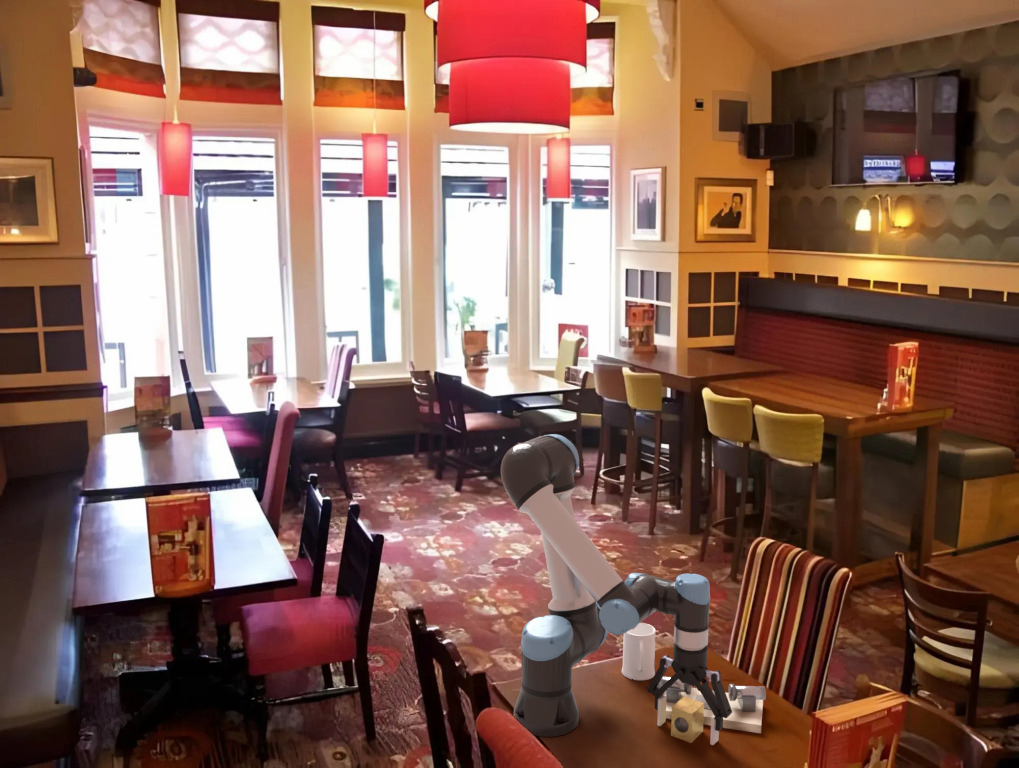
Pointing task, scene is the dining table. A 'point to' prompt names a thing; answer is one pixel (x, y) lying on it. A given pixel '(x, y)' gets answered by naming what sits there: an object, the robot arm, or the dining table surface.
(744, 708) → the shaft right
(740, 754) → the dining table surface
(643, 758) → the dining table surface
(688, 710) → the wooden block with hole
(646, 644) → the mug
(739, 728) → the bench
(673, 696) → the shaft left
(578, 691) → the dining table surface
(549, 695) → the robot arm
